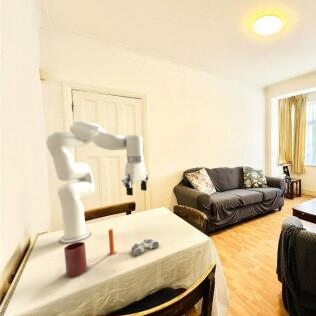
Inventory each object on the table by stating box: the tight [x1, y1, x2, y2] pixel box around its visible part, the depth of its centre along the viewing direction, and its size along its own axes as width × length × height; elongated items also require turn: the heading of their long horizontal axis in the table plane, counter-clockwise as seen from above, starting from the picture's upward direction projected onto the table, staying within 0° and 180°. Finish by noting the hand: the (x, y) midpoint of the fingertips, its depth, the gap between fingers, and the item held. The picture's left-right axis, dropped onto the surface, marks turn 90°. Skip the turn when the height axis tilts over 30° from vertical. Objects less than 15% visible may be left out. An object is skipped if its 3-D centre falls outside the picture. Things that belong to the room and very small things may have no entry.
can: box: [63, 241, 88, 278], centre depth 84 cm, size 7×7×12 cm
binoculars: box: [130, 237, 160, 256], centre depth 103 cm, size 12×8×4 cm, turn 139°
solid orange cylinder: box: [108, 228, 115, 255], centre depth 98 cm, size 2×2×12 cm
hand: (137, 192), depth 104 cm, fingers open, 9 cm apart
